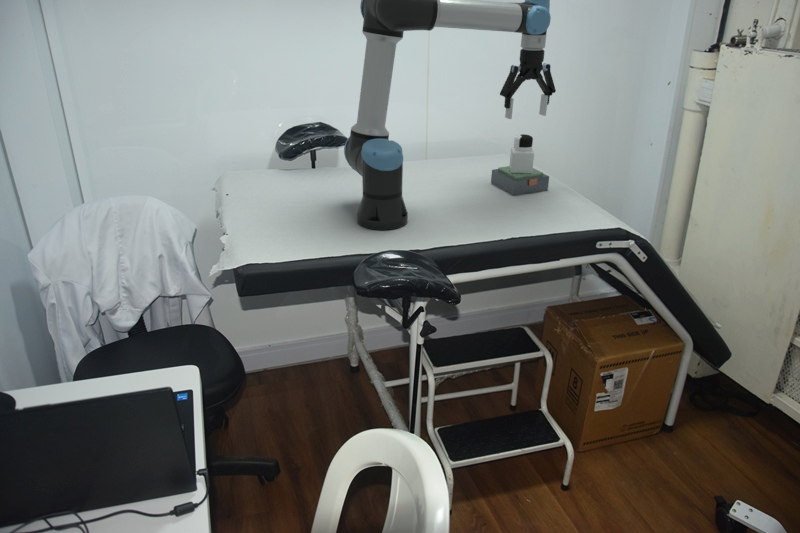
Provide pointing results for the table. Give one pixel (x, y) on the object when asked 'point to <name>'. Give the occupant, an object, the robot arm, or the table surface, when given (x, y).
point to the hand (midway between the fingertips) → (525, 116)
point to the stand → (519, 181)
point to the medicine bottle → (522, 154)
